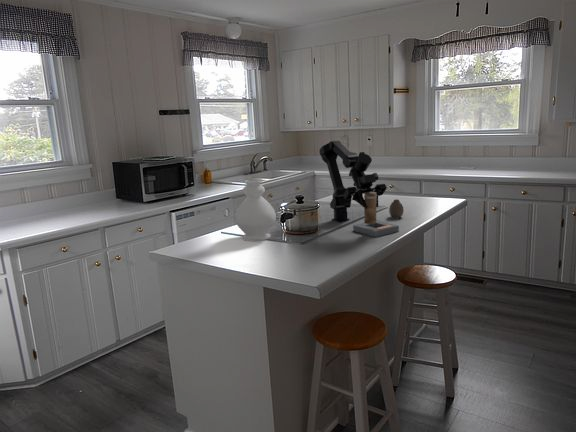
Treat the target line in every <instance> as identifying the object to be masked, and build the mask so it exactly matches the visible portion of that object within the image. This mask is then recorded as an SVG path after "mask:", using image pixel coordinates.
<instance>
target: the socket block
mask: <svg viewBox="0 0 576 432" xmlns="http://www.w3.org/2000/svg"><path fill="white" fill-rule="evenodd" d="M352 228H353V231H354V232H357V233H361V234H364V235H366V236H367V235H368V236H370V237H375V238H377V237H380V236H381V237H382V236H386V235H389V234H393V232H394V233H397V232H399V231H400V226H399V225H397V224H393V223H389V222H384V221H381V220H377V219H376V223H375V224H366V223H364V222H362V223H358V224H357V223H356V224H354V225H353V227H352Z"/></svg>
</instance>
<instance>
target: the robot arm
mask: <svg viewBox="0 0 576 432" xmlns="http://www.w3.org/2000/svg"><path fill="white" fill-rule="evenodd" d="M319 155H320V157H321V160H322V161H323V162H324V163H325V164H326V166H327V169H328V173H329V176H330V180H331V183H332V187H333V192H332V199H331V201H330V203H329V206H330V208H331V209H333V218H331V221H334V222H339V223H342V222H346V221H350V218H348V209H349V208H350V209H351V204H352V201H355V203H357V204H359V205H360V206H362V207H363V209H364V208H365V209H367V205H366V202H365V198H364V195H365V192H376V193H377V198H376V208H378V207H379V196H382V195H383V194H385V192H386V190H387V189H388V187H387V184H385V183H377V184H376V185H375V186H374V187H372V186H373V183H376V182H377V181H378V180H379V175H378V173H377V172H373V173H370V174H366V173H365V172H366V171H367V170H368V168H369V167H370V165H371V164H372V161H373V159H372V157H371V156H370V155H369V154H366V153H365V152H364V151H363V152H362V151H361V152H359V154H358V153H356V152H352V151H350V150H349V149H348V148H347V147H346V146H344V145H343V144H342V142H341V141H340V140H332V141H329V142H328V143H326V144H324V145H322V146H321V147H320V148H319ZM338 157H339V158H341V160H342V164H343V166H344V167H345V168H346V169H350V168H351V169H350V170H349V172H348V176H349V177H351V178H352V180H353V184H352V185H353V186H349V187H345V186H344V184H343V180H342V176H341V172H340V169H339V165H338V162H337V159H338ZM363 194H364V195H363ZM383 196H384V195H383Z"/></svg>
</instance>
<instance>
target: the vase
mask: <svg viewBox="0 0 576 432" xmlns="http://www.w3.org/2000/svg"><path fill="white" fill-rule="evenodd" d="M388 212H389V215H390V217H391V218H393V219H400V218H401V217H403V215H404V206H403V204H402V203H401V201H400V199H397V198H396V199H393V201H392V203H391V204H389V208H388Z"/></svg>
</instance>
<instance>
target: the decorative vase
mask: <svg viewBox="0 0 576 432" xmlns="http://www.w3.org/2000/svg"><path fill="white" fill-rule="evenodd" d="M262 183H263V180H262V179H246V180H244V184H245V186H244V187H243V188H242V193H243V194H244V195H245V196H246V197H245V198H244V199H243V200H242V201H241V203H240V204H239V205H238V207H237V208H236V211H235V214H234V221H235V224H236V226H237V227H238V228H239V229H240V230H241V231H242V233H244V234H243V235H242V236H241V239H242V240H244V241H248V242H260V241H266V240H269V239H270V238H271V237H272V236H271V234H270V233H269V231H270V230H271V228H272V227H273V226H274V225H275V222H276V220H277V219H276V218H277V215H276V211H275V209H274V207H273V206H272V204H271V203H270V202H269V201H267V199H266V198H264V197H263V196H262V195H264V193H265V191H266V189H265V187H264V186H263V185H262Z"/></svg>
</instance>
